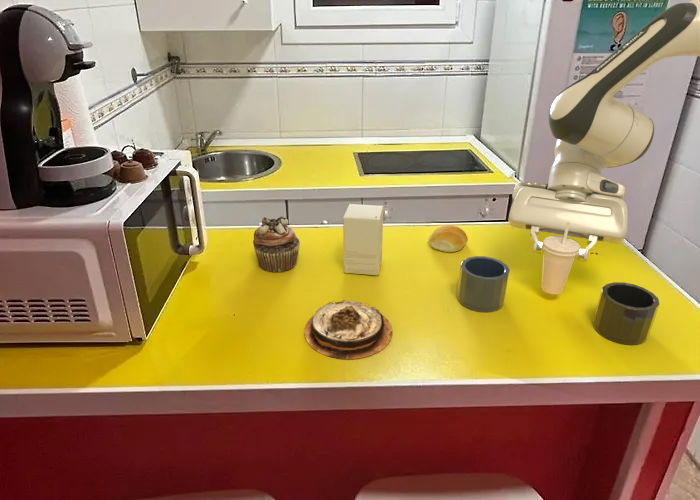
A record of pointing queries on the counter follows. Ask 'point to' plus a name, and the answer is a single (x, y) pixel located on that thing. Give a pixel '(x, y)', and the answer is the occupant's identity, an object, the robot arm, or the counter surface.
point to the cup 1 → (482, 283)
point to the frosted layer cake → (348, 330)
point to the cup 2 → (625, 313)
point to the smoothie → (557, 261)
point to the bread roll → (448, 238)
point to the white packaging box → (363, 239)
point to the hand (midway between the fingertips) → (559, 256)
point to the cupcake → (276, 245)
